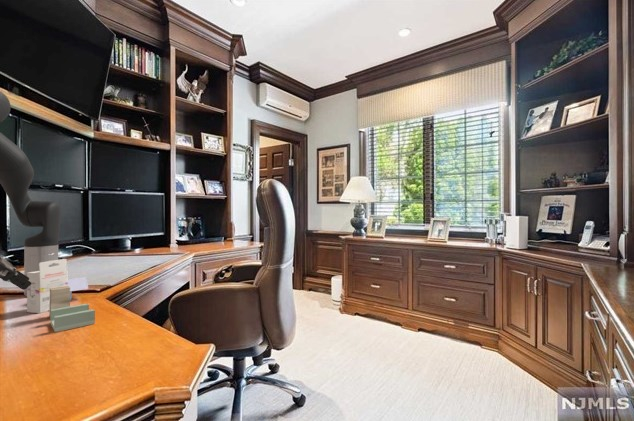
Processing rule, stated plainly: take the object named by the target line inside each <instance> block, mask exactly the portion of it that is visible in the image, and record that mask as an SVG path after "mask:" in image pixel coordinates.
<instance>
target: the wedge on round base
mask: <svg viewBox="0 0 634 421" xmlns="http://www.w3.org/2000/svg"><path fill="white" fill-rule="evenodd" d="M87 278H88V277H87V276H83V277H82V276H81V277H75V278H68V286H69V287H70V301H71V300H72V299H73V292H75V291H81V290H82V291H83V290H89V284H88V280H87Z"/></svg>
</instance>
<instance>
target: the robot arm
mask: <svg viewBox="0 0 634 421" xmlns="http://www.w3.org/2000/svg"><path fill="white" fill-rule="evenodd" d="M10 113H11V102H10V100H9V98H8V97H7V95H6V94H5V93H4V92H2V91H0V123H1V122H3V121H4V120H6V119H7V118H8V117H9V114H10ZM34 176H35V170H34V167H33V166H32V164H31V162H30V160H29V158H28V156H27V154H26V153H25V152H24V151H23V150H22V148H20V147H19V146H18V145H16V144H15V143H14V141H12V140H10V139H9V138H8V137H7V136H6V135H4V133H2V132H0V185H1V187H2V188H3V190H4V192H5V194H6V195H7V198H8V199H9V201H10V204H11V206H12V209H13V210H14V213H15V214H16V217H17V219H18V220H19V222H20V223H21V224H22V225H24V226H25V227H29V228H31V227H32V228H39V227H40V228H42V230H41V232H39V233H37V234H35V235H33V236H28V237H27V238H25V239H24V248H23V250H24V253H23V254H24V256H23V257H24V258H23V260H24V261H23V263H24V266H23V267H24V268H23V271H24V272H23V273H22V272H21V271H19V270H17V267H15V266H14V265H13V264H12V263H11V262H10V261H9V260H6V259H5V257H3V256H1V255H0V279H1V280H2V281H3V282H8V283H11V284H12V285H13V286H16V287H17V288H19V289H21V290H23V295H24V296H25V297H27V288H28V287H29V286H30V285H31V282H30V281H28V280H29V277H27V273H28V272H35V271H39V263H40V262H47V261H54V260H59V240H60V235H61V234H60V233H61V222H62V220H61V219H62V211H61V207H60V204H59V203H58V202H55V201H43V200H41V201H33V200H32V199H31V198H30V196H29V193H28V190H29V188H30V186H31V184H32V181H33V179H34ZM53 266H58V264H54V263H53V264H52V265H49V267H53Z"/></svg>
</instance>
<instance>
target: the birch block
mask: <svg viewBox="0 0 634 421" xmlns="http://www.w3.org/2000/svg"><path fill="white" fill-rule="evenodd" d="M70 306H71V300H70V287H69V286H68V285H67V286H59V287H52V288H50V310H52V309H58V308H64V307H70ZM50 310H49V311H48V312H49V314H48V315H49V317H50Z"/></svg>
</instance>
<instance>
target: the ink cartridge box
mask: <svg viewBox="0 0 634 421" xmlns="http://www.w3.org/2000/svg"><path fill="white" fill-rule="evenodd" d="M53 263H54V264H58V266H53V267H49V265H52V264H53ZM68 271H69V270H68V261H67V258H63V259H61V258H60V259H58V260H54V261H47V262H40V263H39V271H35V272H28V273H27V277H29V280H28V281H30V282H31V285H30V286H29V287H28V288H27V296H26V312H27V313H35V314H42V313H45V312H49V311H50V288H52V287H59V286H67V285H68V279H69V278H68V277H69V272H68Z"/></svg>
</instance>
